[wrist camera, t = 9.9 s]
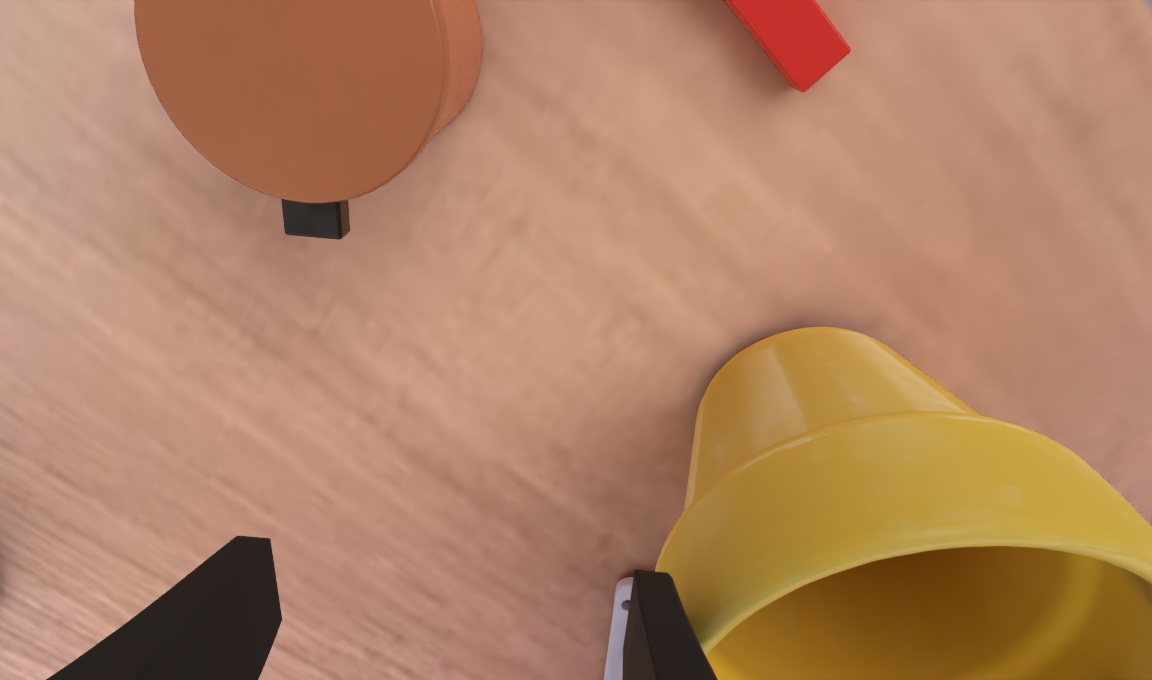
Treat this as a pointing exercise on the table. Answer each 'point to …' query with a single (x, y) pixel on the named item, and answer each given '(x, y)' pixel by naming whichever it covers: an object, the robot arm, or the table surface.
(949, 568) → the flower pot
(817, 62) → the red spoon
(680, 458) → the table surface
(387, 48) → the copper pot
